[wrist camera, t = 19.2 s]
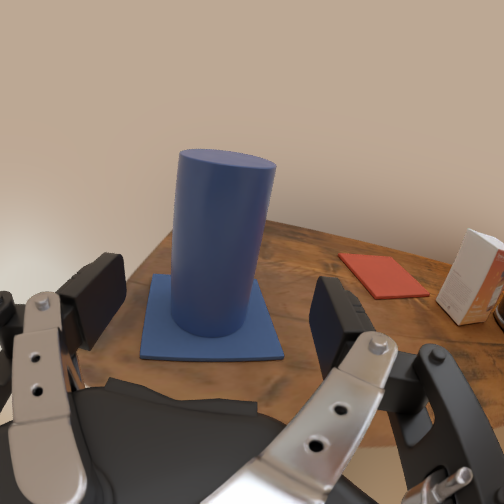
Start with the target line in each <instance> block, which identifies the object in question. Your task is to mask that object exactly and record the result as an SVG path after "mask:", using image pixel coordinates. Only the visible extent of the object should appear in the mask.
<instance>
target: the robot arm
mask: <svg viewBox="0 0 504 504" xmlns="http://www.w3.org/2000/svg"><path fill="white" fill-rule="evenodd" d="M126 291H127V289H126V280H125V270H124V260H123V257H122V255H121V254H114V253H106V252H105V253H103V254H102V255H101V256H100V257H98V258H97V259H96V260H95V261H94V262H93V263H91V264H88V265H86V266H84V267H83V268H81V269H80V270H79V271H78V272H77V274H75V275H74V276H72V278H71V279H69V280H68V281H67V282H66V283H65V284H64V285H63V286H61V287H60V288H59V290H57V291H56V292H55V293H54V292H41V293H38V294H36V295H34V296H32V297H31V298H30V299H29V300H28V301H27V303H26V304H14V301H13V297H12V294H11V293H10V292H7V291H0V345H1V348H2V350H1V351H0V412H1V411H2V409H3V407H4V405H5V404H6V402H7V400H8V398H9V397H10V395H11V394H12V407H13V420H12V421H9V422H7V423H5V424H3V425H0V504H378V503H377V502H376V501H375V500H373V499H372V498H371V497H369V496H368V495H367V494H366V493H364V492H363V491H362V490H361V489H359V488H358V487H357V486H356V485H354V484H353V483H352V482H351V481H350V480H348V479H347V478H346V477H345V476H344V475H342V473H343V471H344V470H345V468H346V467H347V465H348V463H349V461H350V460H351V458H352V456H353V454H354V453H355V451H356V449H357V448H358V446H359V444H360V442H361V440H362V439H363V437H364V435H365V433H366V431H367V429H368V427H369V425H370V423H371V421H372V419H373V417H374V415H375V413H376V411H377V410H383V411H387V413H388V416H389V420H390V423H391V427H392V430H393V434H394V437H395V441H396V445H397V448H398V452H399V456H400V460H401V464H402V468H403V472H404V476H405V480H406V485H407V490H408V492H407V493H406V494H405V495H404V497H403V499H402V502H401V504H504V454H503V451H502V449H501V447H500V444H499V442H498V440H497V438H496V436H495V433H494V431H493V429H492V427H491V425H490V423H489V421H488V419H487V417H486V415H485V413H484V411H483V409H482V407H481V405H480V403H479V401H478V399H477V398H476V396H475V394H474V392H473V390H472V389H471V387H470V385H469V383H468V382H467V380H466V378H465V376H464V375H463V373H462V371H461V370H460V368H459V366H458V365H457V363H456V362H455V360H454V358H453V357H452V355H451V354H450V353H449V352H448V351H447V350H446V349H445V348H443V347H441V346H439V345H436V344H425V345H423V346H422V347H421V348H420V350H419V352H418V354H417V355H416V354H411V353H406V352H401V351H398V347H397V344H396V343H395V342H394V340H393V339H391V338H390V337H389V336H387V335H385V334H383V333H380V332H376V330H375V329H374V327H373V325H372V323H371V321H370V319H369V318H368V316H367V314H366V313H365V310H364V309H363V307H362V305H361V303H360V301H359V300H358V298H357V297H356V296H355V295H354V294H352V293H351V292H350V291H347V290H344V288H343V286H342V284H341V282H340V281H339V279H338V278H334V277H323V276H320V277H319V278H318V280H317V283H316V288H315V292H314V296H313V300H312V304H311V308H310V313H309V324H310V328H311V332H312V336H313V340H314V344H315V348H316V352H317V356H318V360H319V364H320V368H321V372H322V377H323V382H322V383H321V385H320V386H319V387H318V389H317V390H316V391H315V392H314V394H313V395H312V396H311V397H310V399H309V400H308V401H307V402H306V404H305V405H304V406H303V407H302V408H301V410H300V411H299V412H298V413H297V414H296V415H295V417H294V418H293V419H292V420H291V421H290V422H289V424H288V425H285V424H284V423H282V422H281V421H278V420H276V419H274V418H272V417H269V416H267V415H264V414H261V413H257V402H252V401H239V400H228V399H219V398H218V399H204V400H182V401H181V400H175V399H172V398H169V397H167V396H165V395H162V394H160V393H158V392H156V391H153V390H151V389H149V388H147V387H145V386H142V385H138V384H134V383H130V382H126V381H122V380H118V379H115V378H111V377H109V379H108V381H107V383H106V385H105V387H90V388H85V385H84V381H83V377H82V372H81V368H80V364H79V359H78V355H77V353H76V351H77V349H78V348H81V349H84V350H88V351H91V349H92V347H93V346H94V344H95V343H96V341H97V340H98V338H99V337H100V335H101V334H102V332H103V331H104V329H105V328H106V327H107V325H108V324H109V322H110V321H111V319H112V318H113V316H114V315H115V314H116V312H117V311H118V309H119V308H120V307H121V305H122V304H123V302H124V300H125V297H126ZM494 315H495V318H496V320H497V322H498V323H499V325H500V326H501V327H502V329H503V330H504V296H503V298H502V299H501V301H500V303H499V305H498V306H497V307H496V309H495V311H494ZM428 402H430V404H431V407H432V409H433V411H434V415H435V420H434V424H432V422H431V419H430V417H429V414H428V412H427V409H426V407H425V406H426V404H427V403H428Z"/></svg>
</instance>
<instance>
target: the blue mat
mask: <svg viewBox="0 0 504 504" xmlns="http://www.w3.org/2000/svg"><path fill="white" fill-rule="evenodd" d="M140 358H141V359H154V360H171V361H207V362H226V361H261V360H279V359H283V358H284V353H283V351H282V348H281V345H280V342H279V340H278V337H277V334H276V332H275V329H274V326H273V323H272V321H271V318H270V315H269V312H268V310H267V307H266V304H265V302H264V299H263V296H262V293H261V291H260V288H259V285H258V282H257V280H256V279H254V280H253V284H252V289H251V294H250V299H249V304H248V308H247V313H246V318H245V321H244V323H243V325H242V326H241V327H240V328H239V329H238V330H237V331H236V332H234V333H232V334H230V335H227V336H223V337H217V338H208V337H201V336H197V335H193V334H191V333H189V332H187V331H185V330H183V329H182V328H181V327H179V326H178V325H177V324H176V322H175V321H174V319H173V317H172V315H171V275H164V274H153V277H152V282H151V287H150V292H149V297H148V303H147V309H146V315H145V321H144V327H143V334H142V341H141V348H140Z"/></svg>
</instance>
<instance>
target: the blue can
mask: <svg viewBox="0 0 504 504" xmlns="http://www.w3.org/2000/svg"><path fill="white" fill-rule="evenodd" d="M275 171H276V164H274V163H273V162H271V161H268V160H266V159H263V158H260V157H256V156H252V155H248V154H243V153H237V152H231V151H223V150H212V149H189V150H184V151H181V152H180V153H179V162H178V172H177V183H176V193H175V205H174V219H173V236H172V260H171V315H172V317H173V319H174V321H175V322H176V324H177V325H178V326H179V327H181V328H182V329H183V330H185V331H187V332H189V333H191V334H193V335H197V336H201V337H208V338H217V337H223V336H227V335H230V334H232V333H234V332H236V331H237V330H238V329H239V328H240V327H241V326H242V325H243V323H244V321H245V318H246V313H247V308H248V304H249V299H250V294H251V289H252V284H253V280H254V275H255V270H256V265H257V260H258V255H259V250H260V246H261V241H262V236H263V231H264V226H265V221H266V216H267V210H268V206H269V201H270V196H271V191H272V186H273V181H274V176H275Z"/></svg>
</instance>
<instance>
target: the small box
mask: <svg viewBox="0 0 504 504" xmlns="http://www.w3.org/2000/svg"><path fill="white" fill-rule="evenodd" d="M503 289H504V243H502V242H501V241H499V240H498V239H497V238H495V237H493V236H489V235H486V234H482V233H479V232H476V231H474V230H472V229H469V228H468V229H467V232H466V234H465V237H464V239H463V242H462V245H461V247H460V249H459V252H458V254H457V256H456V259H455V261H454V263H453V265H452V267H451V270H450V272H449V274H448V276H447V278H446V280H445V282H444V284H443V286H442V288H441V290H440V292H439V294H438V296H437V298H436V301H437V302H438V304H439V305H440V306H441V307H442V308H443V309H444V310H445V311H446V312H447V313H448V314H449V315H450V317H451V318H452V319H453V320H454V321H455V322H456V323H457V324H458V325H464V324H470V323H477V322H485V321H486V319H487V317H488V316H489V314H490V312H491V311H492V309H493V307H494V306H495V304H496V302H497V300H498V298H499V297H500V295H501V293H502V291H503Z"/></svg>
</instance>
